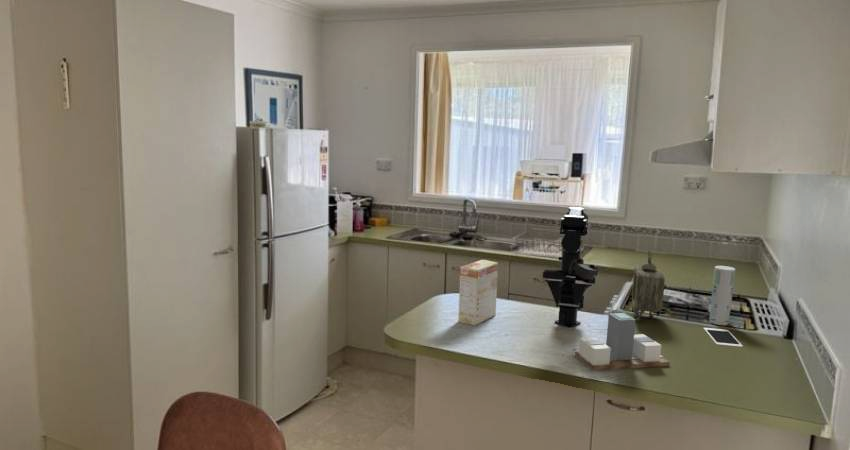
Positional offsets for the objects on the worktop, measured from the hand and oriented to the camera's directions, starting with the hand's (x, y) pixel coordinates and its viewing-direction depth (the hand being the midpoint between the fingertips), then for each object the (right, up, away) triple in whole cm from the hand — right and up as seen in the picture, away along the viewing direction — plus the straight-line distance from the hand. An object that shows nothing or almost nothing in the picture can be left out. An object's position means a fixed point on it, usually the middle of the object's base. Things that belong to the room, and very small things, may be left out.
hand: (567, 304), depth 183 cm
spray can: (+60, -10, +26) cm, 66 cm away
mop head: (+35, -9, +28) cm, 46 cm away
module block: (+12, -13, -13) cm, 22 cm away
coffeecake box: (-26, -8, +22) cm, 35 cm away
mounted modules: (+12, -14, -12) cm, 22 cm away
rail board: (+12, -15, -12) cm, 23 cm away
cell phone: (+54, -13, +11) cm, 56 cm away
